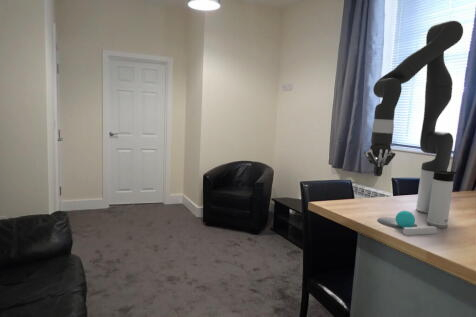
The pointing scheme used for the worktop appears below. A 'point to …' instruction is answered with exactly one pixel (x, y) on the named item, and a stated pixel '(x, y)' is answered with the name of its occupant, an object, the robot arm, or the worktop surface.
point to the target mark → (391, 222)
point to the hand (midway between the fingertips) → (377, 175)
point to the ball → (405, 219)
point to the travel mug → (440, 199)
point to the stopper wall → (420, 230)
